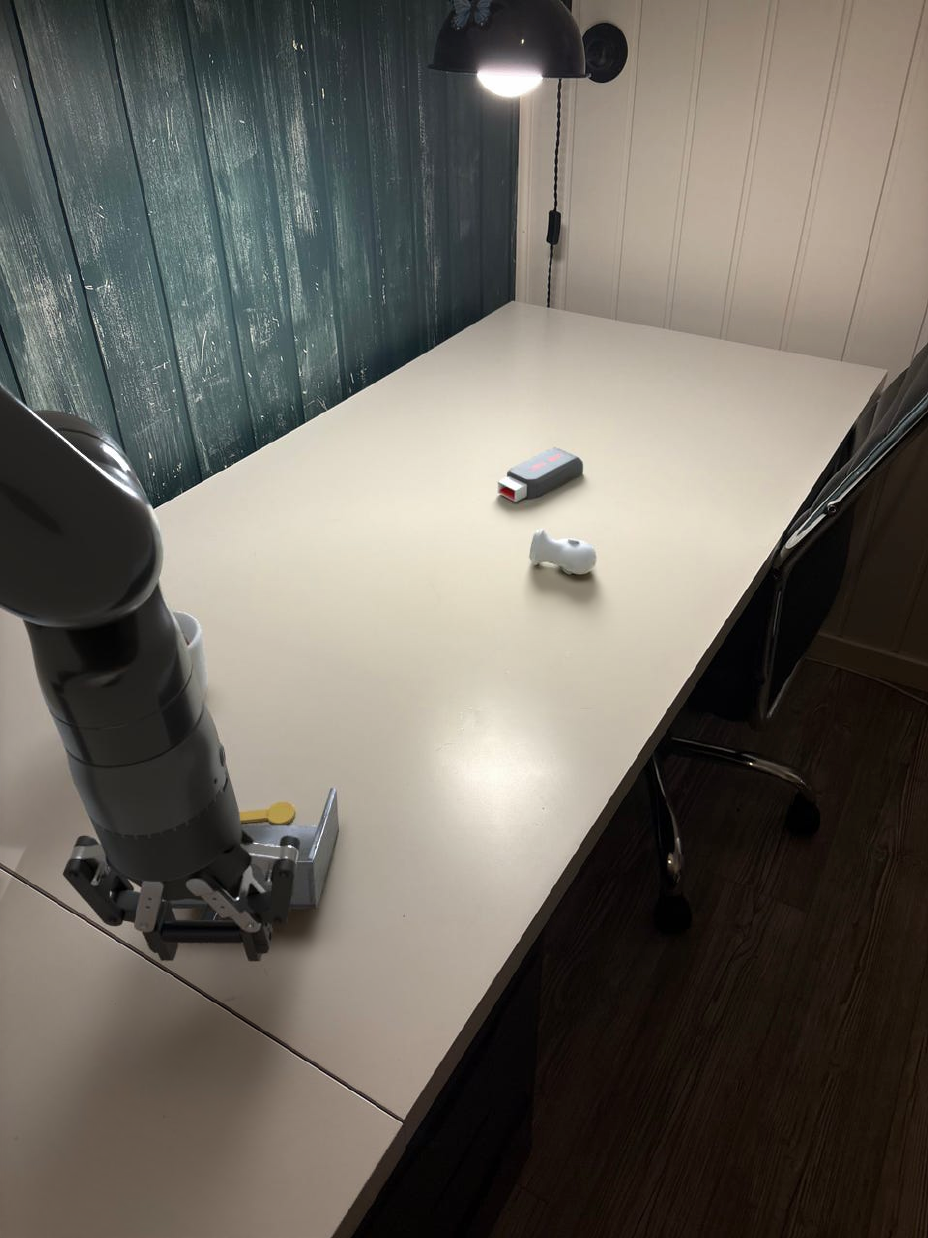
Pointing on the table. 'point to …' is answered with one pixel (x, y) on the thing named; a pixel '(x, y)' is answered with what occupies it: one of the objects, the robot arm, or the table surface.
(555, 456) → the usb drive
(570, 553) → the smooth white sculpture
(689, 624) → the table surface
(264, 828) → the metal dustpan with handle
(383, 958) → the table surface
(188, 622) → the cup
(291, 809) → the yellow spoon
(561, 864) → the table surface
